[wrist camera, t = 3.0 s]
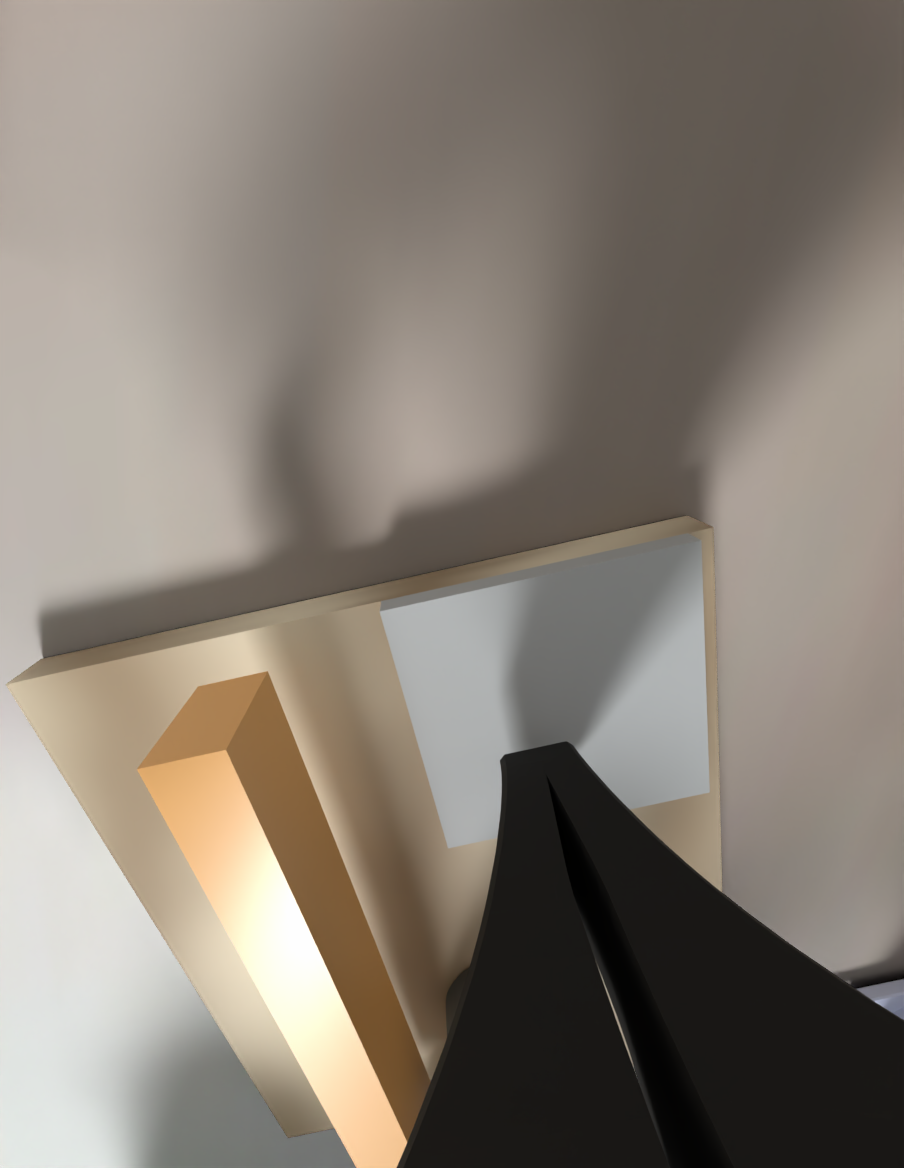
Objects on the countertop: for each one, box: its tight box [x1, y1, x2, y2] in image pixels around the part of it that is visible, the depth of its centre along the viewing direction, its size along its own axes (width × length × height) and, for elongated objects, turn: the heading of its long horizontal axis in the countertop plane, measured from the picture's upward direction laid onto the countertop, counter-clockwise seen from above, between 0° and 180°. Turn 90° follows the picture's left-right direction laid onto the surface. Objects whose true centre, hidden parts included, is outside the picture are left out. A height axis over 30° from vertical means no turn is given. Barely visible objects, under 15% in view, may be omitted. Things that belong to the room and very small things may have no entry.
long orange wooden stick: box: [137, 671, 431, 1168], centre depth 11 cm, size 2×18×5 cm, turn 12°
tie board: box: [6, 515, 722, 1138], centre depth 13 cm, size 14×17×1 cm
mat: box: [380, 533, 710, 848], centre depth 11 cm, size 6×6×1 cm
